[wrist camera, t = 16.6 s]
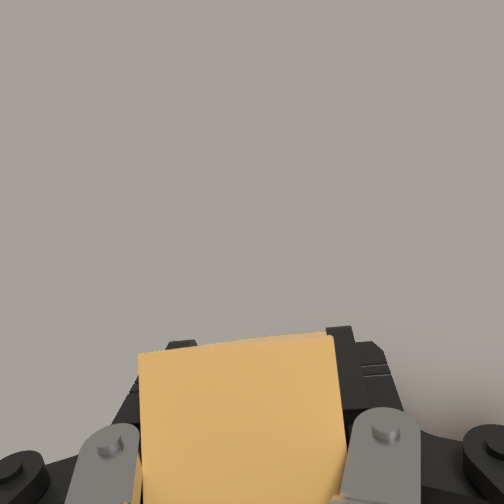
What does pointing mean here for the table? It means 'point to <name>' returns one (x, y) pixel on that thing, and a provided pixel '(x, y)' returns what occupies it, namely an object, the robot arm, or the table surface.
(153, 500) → the tan rectangular block
